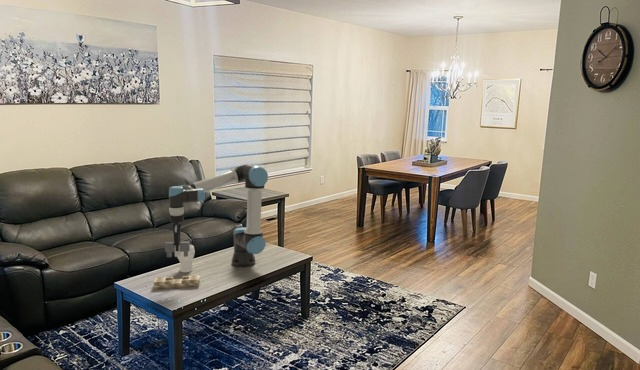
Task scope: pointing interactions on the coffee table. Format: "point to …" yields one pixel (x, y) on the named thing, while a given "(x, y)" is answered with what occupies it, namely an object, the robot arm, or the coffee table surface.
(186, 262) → the cup
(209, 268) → the coffee table surface
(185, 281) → the rail
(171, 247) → the grey block
